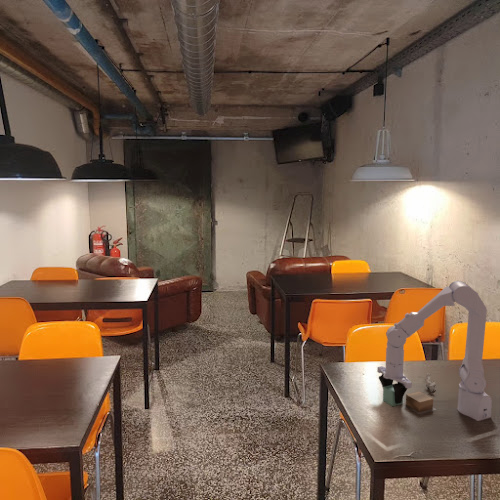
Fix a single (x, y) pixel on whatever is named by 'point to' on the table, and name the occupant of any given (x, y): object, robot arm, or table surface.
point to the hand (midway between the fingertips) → (392, 399)
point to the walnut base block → (419, 401)
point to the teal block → (389, 395)
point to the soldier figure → (429, 383)
